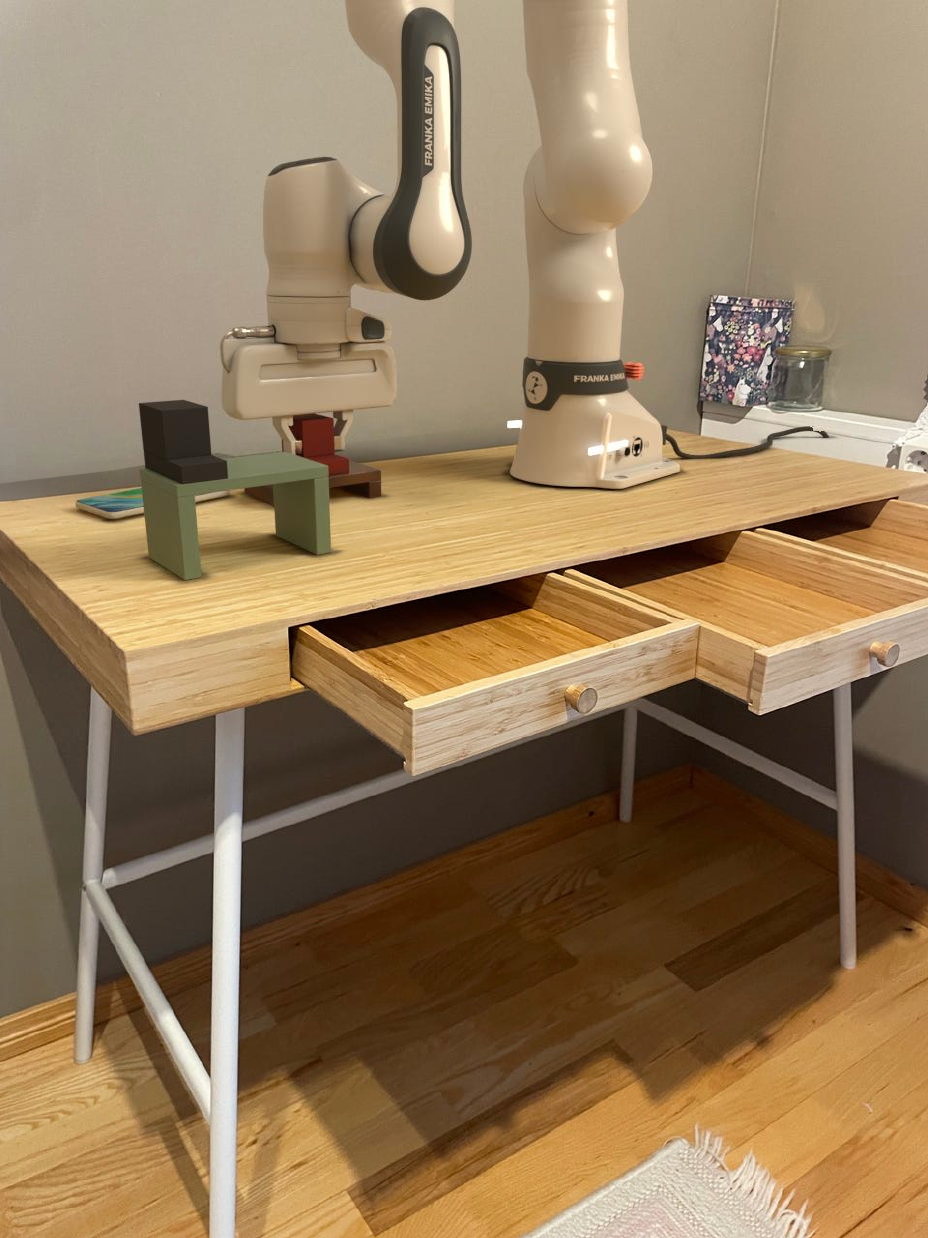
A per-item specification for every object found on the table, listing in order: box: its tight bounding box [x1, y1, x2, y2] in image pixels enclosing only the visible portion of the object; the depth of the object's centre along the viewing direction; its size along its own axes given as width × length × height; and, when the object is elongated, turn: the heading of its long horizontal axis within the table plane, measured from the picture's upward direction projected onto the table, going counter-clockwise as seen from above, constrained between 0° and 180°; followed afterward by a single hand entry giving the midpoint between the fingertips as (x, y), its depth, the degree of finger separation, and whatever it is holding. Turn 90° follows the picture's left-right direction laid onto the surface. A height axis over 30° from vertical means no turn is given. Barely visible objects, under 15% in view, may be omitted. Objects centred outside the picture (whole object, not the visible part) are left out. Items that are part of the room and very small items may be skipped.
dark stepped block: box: [138, 399, 228, 484], centre depth 81 cm, size 4×8×6 cm, turn 38°
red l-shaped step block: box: [281, 413, 350, 475], centre depth 108 cm, size 4×8×6 cm, turn 38°
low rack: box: [243, 459, 382, 506], centre depth 109 cm, size 12×10×3 cm
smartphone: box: [74, 487, 230, 520], centre depth 104 cm, size 7×1×15 cm
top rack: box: [139, 451, 332, 581], centre depth 86 cm, size 14×8×8 cm, turn 128°
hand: (315, 453), depth 108 cm, fingers closed on red l-shaped step block, 4 cm apart
